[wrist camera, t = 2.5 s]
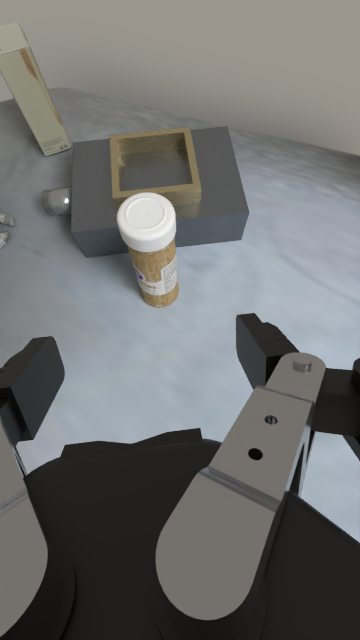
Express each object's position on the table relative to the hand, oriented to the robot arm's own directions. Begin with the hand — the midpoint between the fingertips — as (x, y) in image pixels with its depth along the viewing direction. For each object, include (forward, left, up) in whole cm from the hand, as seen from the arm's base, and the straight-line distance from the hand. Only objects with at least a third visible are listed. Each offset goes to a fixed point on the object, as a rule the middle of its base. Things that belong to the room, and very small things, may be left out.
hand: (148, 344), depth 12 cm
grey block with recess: (+1, -25, -18) cm, 31 cm away
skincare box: (+14, -40, -19) cm, 46 cm away
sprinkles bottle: (0, -12, -19) cm, 22 cm away
